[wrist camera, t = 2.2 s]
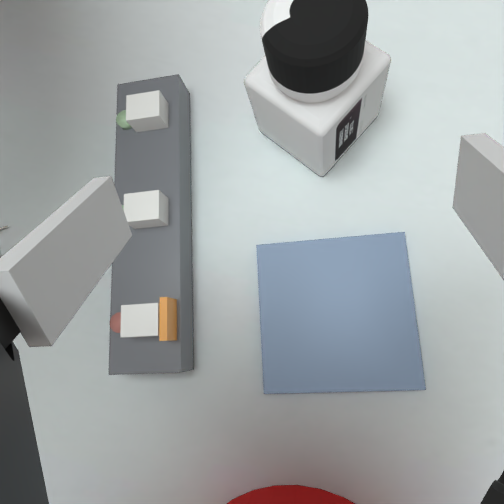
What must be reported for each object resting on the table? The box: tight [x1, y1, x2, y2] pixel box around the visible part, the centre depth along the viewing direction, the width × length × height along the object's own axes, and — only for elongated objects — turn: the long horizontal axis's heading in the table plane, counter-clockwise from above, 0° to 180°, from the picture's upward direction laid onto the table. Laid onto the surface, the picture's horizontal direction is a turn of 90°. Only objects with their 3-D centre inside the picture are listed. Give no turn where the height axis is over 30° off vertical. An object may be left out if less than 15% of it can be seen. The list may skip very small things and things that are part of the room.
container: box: [244, 0, 391, 176], centre depth 30 cm, size 8×8×13 cm
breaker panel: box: [109, 74, 194, 375], centre depth 34 cm, size 26×6×5 cm, turn 3°
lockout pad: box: [257, 232, 426, 394], centre depth 32 cm, size 12×12×1 cm
